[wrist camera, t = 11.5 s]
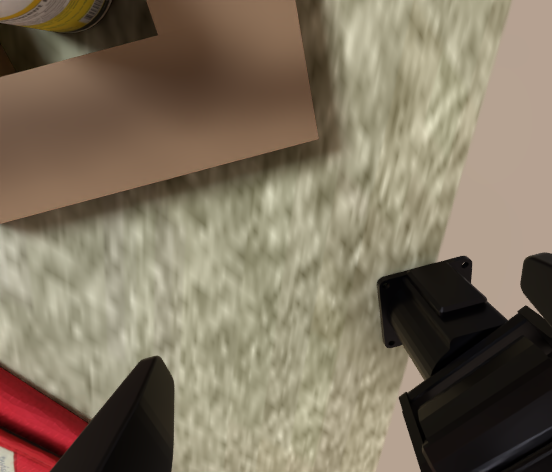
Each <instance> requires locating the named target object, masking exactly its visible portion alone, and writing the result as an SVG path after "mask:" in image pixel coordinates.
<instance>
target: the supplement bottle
mask: <svg viewBox="0 0 552 472" xmlns="http://www.w3.org/2000/svg"><path fill="white" fill-rule="evenodd" d="M111 1H112V0H0V23H5V24H11V25H17V26H23V27H29V28H35V29H41V30H47V31H54V32H60V33H75V32H80V31H84V30H86V29H89V28H91V27H92V26H94V25H95V24H96V23H98V22H99V21H100V20H101V19H102V18H103V16H104V15H105V14H106V12H107V10H108V8H109V6H110V4H111Z"/></svg>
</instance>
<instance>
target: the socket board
mask: <svg viewBox="0 0 552 472" xmlns="http://www.w3.org/2000/svg"><path fill="white" fill-rule="evenodd" d="M146 2H147V5H148V7H149V10H150V13H151V16H152V19H153V22H154V25H155V28H156V31H157V33H158V35H157V36H153V37H149V38H145V39H142V40H138V41H134V42H130V43H127V44H123V45H119V46H115V47H112V48H108V49H104V50H100V51H97V52H93V53H89V54H85V55H82V56H78V57H74V58H70V59H67V60H63V61H59V62H55V63H52V64H48V65H44V66H40V67H37V68H33V69H29V70H25V71H22V72H18V73H16V71H15V69H14V67H13V65H12V64H11V62H10V60H9V58H8V56H7V55H6V53H5V51H4V49H3V47H2V45H1V44H0V224H1V223H5V222H9V221H13V220H16V219H20V218H24V217H28V216H31V215H35V214H39V213H43V212H46V211H50V210H54V209H58V208H62V207H65V206H69V205H73V204H77V203H80V202H84V201H88V200H92V199H95V198H99V197H103V196H107V195H110V194H114V193H118V192H122V191H125V190H129V189H133V188H137V187H140V186H144V185H148V184H152V183H155V182H159V181H163V180H167V179H171V178H174V177H178V176H182V175H186V174H189V173H193V172H197V171H201V170H204V169H208V168H212V167H216V166H219V165H223V164H227V163H231V162H234V161H238V160H242V159H246V158H249V157H253V156H257V155H261V154H264V153H268V152H272V151H276V150H279V149H283V148H287V147H291V146H295V145H298V144H302V143H306V142H310V141H313V140H317V139H319V138H318V132H317V126H316V120H315V114H314V108H313V102H312V96H311V90H310V84H309V78H308V72H307V66H306V60H305V55H304V49H303V43H302V37H301V31H300V25H299V19H298V13H297V7H296V1H295V0H146Z"/></svg>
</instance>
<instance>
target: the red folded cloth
mask: <svg viewBox="0 0 552 472" xmlns="http://www.w3.org/2000/svg"><path fill="white" fill-rule="evenodd" d="M87 425H88V423H87V422H85V421H84V420H82V419H81V418H79V417H78V416H76V415H75V414H73V413H71V412H70V411H68V410H67V409H65V408H64V407H62V406H61V405H59V404H58V403H56V402H55V401H53V400H51V399H50V398H48V397H47V396H45V395H43V394H42V393H40V392H39V391H37V390H36V389H34V388H32V387H31V386H29V385H28V384H26V383H25V382H23V381H22V380H20V379H18V378H17V377H15V376H14V375H12V374H11V373H9V372H7V371H6V370H4V369H3V368H1V367H0V472H49V471H50V470H51V469H52V468H53V467H54V465H55V464H56V463H57V462H58V461H59V459H60V458H61V457H62V456H63V454H64V453H65V452H66V451H67V450H68V448H69V447H70V446H71V445H72V443H73V442H74V441H75V440H76V439H77V437H78V436H79V435H80V434H81V432H82V431H83V430H84V429H85V428H86V426H87Z"/></svg>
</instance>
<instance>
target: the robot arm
mask: <svg viewBox="0 0 552 472" xmlns="http://www.w3.org/2000/svg"><path fill="white" fill-rule="evenodd" d="M464 262H465V263H464ZM463 263H464V264H463ZM462 264H463V265H462ZM471 275H472V261H471V260H470V259H469V258H468V257H466V256H460V257H456V258H452V259H449V260H445V261H441V262H437V263H434V264H430V265H426V266H422V267H418V268H415V269H411V270H407V271H403V272H400V273H396V274H392V275H388V276H385V277H382V278H380V279H379V280H378V282H377V290H378V299H379V309H380V318H381V327H382V337H383V342H384V344H385V346H386V347H387V348H393V347H397V346H400V345H403V346H404V348H405V349H406V351H407V353H408V354H409V356H410V358H411V359H412V361H413V362H414V364H415V366H416V367H417V369H418V371H419V372H420V374H421V375H422V377H423V379H424V380H425V381H423V382H422V383H421V384H419V385H418V386H416V387H415V388H414V389H412V390H411V391H409V392H408V393H407V392H405V393H404V394H402V395H401V396H400V397H399V400H400V404H401V406H402V410H403V411H402V413H403V416H404V419H405V422H406V425H407V428H408V431H409V435H410V438H411V441H412V444H413V447H414V451H415V454H416V457H417V460H418V464H419V466H420V470H421V472H552V254H550V253H539V254H536V255H532V256H529V257H527V258H526V259H525V260H524V263H523V269H522V276H521V284H520V285H521V289H522V291H523V293H524V294H525V296H526V297H527V298H528V299H529V300H530V302H531V303H532V304H533V305H534V306H535V308H536V309H537V310H538V311H539V313H540V314H541V315H542V316H543V318H542V317H541V316H540V315H539V314H537V313H536V312H535V311H533V310H532V309H530V308H529V307H528V306H524V307H523V308H521V309H520V310H519V311H518V314H516V315H515V316H514V317H512V318H511V319H510V320H507V319H506V318H505V317H504V316H503V315H501V314H500V313H499V312H498V311H497V310H496V309H495V308H494V307H493V306H492V305H491V304H489V303H488V302H487V298H486V297H485V296H484V295H483V294H482V293H481V292H479V291H478V290H477V289H476V288H475V287H474V286H473V285H472V284H471ZM385 283H387V284H386V285H384V284H385ZM383 285H384V286H383ZM173 446H174V380H173V377H172V375H171V374H170V372H169V370H168V369H167V367H166V365H165V363H164V362H163V360H162V358H161V357H160V356H153V357H149V358H145V359H143V360H141V361H140V362H139V363H138V364H137V365H136V367H135V368H134V369H133V370H132V371H131V373H130V374H129V375H128V376H127V378H126V379H125V380H124V381H123V382H122V384H121V385H120V386H119V387H118V389H117V390H116V391H115V392H114V393H113V395H112V396H111V397H110V398H109V399H108V401H107V402H106V403H105V404H104V406H103V407H102V408H101V409H100V410H99V412H98V413H97V414H96V415H95V417H94V418H93V419H92V420H91V421H90V423H89V424H88V425H87V426H86V428H85V429H84V430H83V431H82V432H81V434H80V435H79V436H78V437H77V439H76V440H75V441H74V442H73V443H72V445H71V446H70V447H69V448H68V450H67V451H66V452H65V453H64V454H63V456H62V457H61V458H60V459H59V461H58V462H57V463H56V464H55V465H54V467H53V468H52V469H51V470H50V471H49V472H171V470H172V461H173Z"/></svg>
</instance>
